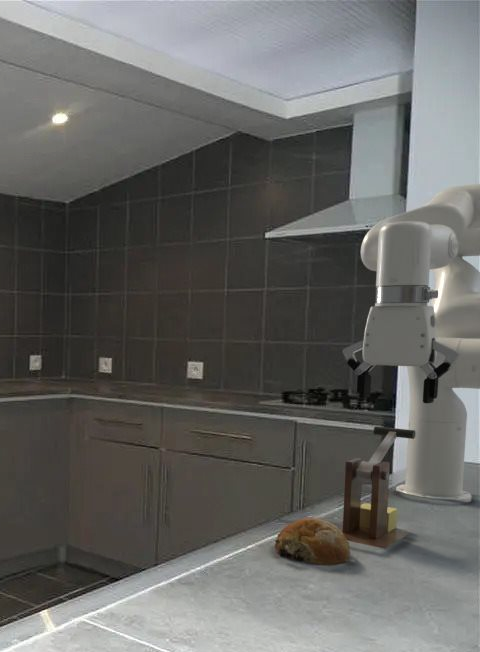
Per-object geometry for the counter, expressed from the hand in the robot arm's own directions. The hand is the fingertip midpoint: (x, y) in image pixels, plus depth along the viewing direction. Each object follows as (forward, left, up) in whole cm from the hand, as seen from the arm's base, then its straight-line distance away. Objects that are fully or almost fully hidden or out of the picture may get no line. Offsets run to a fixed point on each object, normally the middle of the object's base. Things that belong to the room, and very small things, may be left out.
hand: (395, 400), depth 120 cm
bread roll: (+27, -2, -22) cm, 35 cm away
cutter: (+11, 0, -22) cm, 24 cm away
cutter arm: (+5, 0, -9) cm, 11 cm away
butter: (+6, 0, -21) cm, 22 cm away
